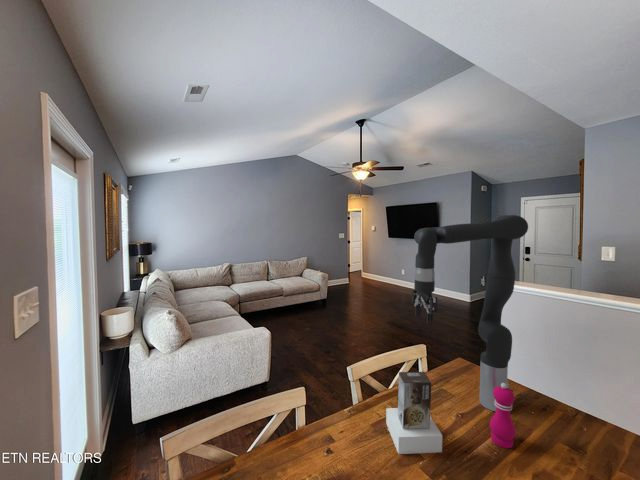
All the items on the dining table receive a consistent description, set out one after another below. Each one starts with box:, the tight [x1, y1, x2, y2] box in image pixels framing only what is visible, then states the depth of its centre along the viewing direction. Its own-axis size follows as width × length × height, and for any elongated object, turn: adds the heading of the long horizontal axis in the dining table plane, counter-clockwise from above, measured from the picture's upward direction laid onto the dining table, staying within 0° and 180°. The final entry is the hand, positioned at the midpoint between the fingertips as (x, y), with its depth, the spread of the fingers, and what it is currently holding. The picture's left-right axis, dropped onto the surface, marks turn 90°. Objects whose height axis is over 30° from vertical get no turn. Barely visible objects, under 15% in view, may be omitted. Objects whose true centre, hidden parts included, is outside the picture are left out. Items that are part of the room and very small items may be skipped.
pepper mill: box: [489, 383, 516, 449], centre depth 96 cm, size 7×7×20 cm
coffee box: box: [397, 371, 432, 429], centre depth 97 cm, size 9×6×16 cm
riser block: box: [385, 407, 443, 455], centre depth 99 cm, size 14×14×6 cm
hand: (423, 319), depth 116 cm, fingers open, 8 cm apart
